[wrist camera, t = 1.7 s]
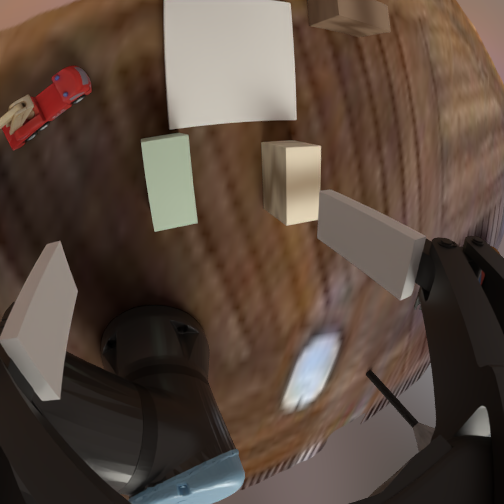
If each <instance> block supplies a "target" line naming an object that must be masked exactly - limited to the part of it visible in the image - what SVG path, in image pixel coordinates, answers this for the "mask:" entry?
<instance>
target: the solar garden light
mask: <svg viewBox="0 0 504 504" xmlns="http://www.w3.org/2000/svg"><path fill="white" fill-rule="evenodd" d="M366 376H367V377H368V378H369V379H370V380H371V381H372V382H373V384H374V385H375V386H376V387H377V388H378V389H379V390H380V391H381V393H382V394H383V395H384V396H385V397H386V398H387V399H388V400H389V402H390V403H391V404H392V405H393V406H394V407H395V408H396V409H397V410H398V412H399V413H400V414H401V415H402V416H403V417H404V419H405V420H406V421H407V422H408V423H409V424H410V425H411V426H412V428H413V430H414V433H415V437H416V441H417V445H418V450H419V452H420V451H421V450H423V449H424V448H425V447H426V446H427V445H429V444H430V442H431V438H432V435H433V433H434V430H435V428H432V427H429V426H427V425H424V424H421V423H418V421H417V420H416V419H415V418H414V417H413V416H412V415H411V414H410V412H409V411H408V410H407V409H406V408H405V407H404V406H403V405H402V404H401V403H400V401H399V400H398V399H397V398H396V397H395V396H394V395H393V394H392V393H391V392H390V390H389V389H388V388H387V387H386V386H385V385H384V384H383V383H382V382H381V381H380V379H379V378H378V377H377V376H376V375H375V374H374V373H373V372H372V371H371V370H370V371H368V372H367V373H366Z"/></svg>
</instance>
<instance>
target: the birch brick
mask: <svg viewBox="0 0 504 504" xmlns="http://www.w3.org/2000/svg"><path fill="white" fill-rule="evenodd" d="M261 150H262V176H263V205H264V209H265V210H266V211H268V212H269V213H270V214H272V215H273V216H274V217H276V218H277V219H278V220H280V221H281V222H282V223H284V224H285V225H286V226H287V225H292V224H297V223H303V222H308V221H313V220H318V211H319V191H320V179H321V146H319V145H314V144H309V143H304V142H299V141H294V140H287V141H270V142H261Z"/></svg>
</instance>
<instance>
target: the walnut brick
mask: <svg viewBox="0 0 504 504" xmlns="http://www.w3.org/2000/svg"><path fill="white" fill-rule="evenodd" d="M307 3H308V14H309V26H312V27H317V28H322V29H327V30H332V31H336V32H341V33H345V34H349V35H353V36H356V37H364V36H369V35H374V34H380V33H387V32H391V31H390V22H389V14H388V7H387V5H385V4H383V3H381V2H378V1H376V0H307Z"/></svg>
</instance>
